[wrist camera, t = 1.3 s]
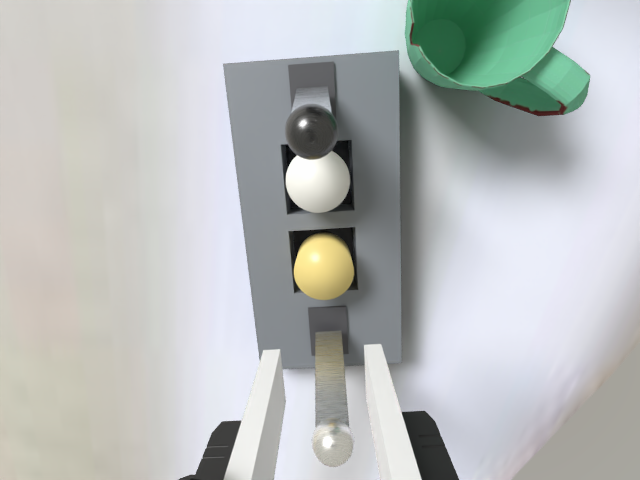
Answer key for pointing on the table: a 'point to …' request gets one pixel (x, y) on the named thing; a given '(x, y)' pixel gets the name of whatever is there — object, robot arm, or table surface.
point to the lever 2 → (331, 402)
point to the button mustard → (323, 266)
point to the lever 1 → (311, 124)
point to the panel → (362, 214)
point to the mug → (497, 51)
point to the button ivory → (318, 182)
